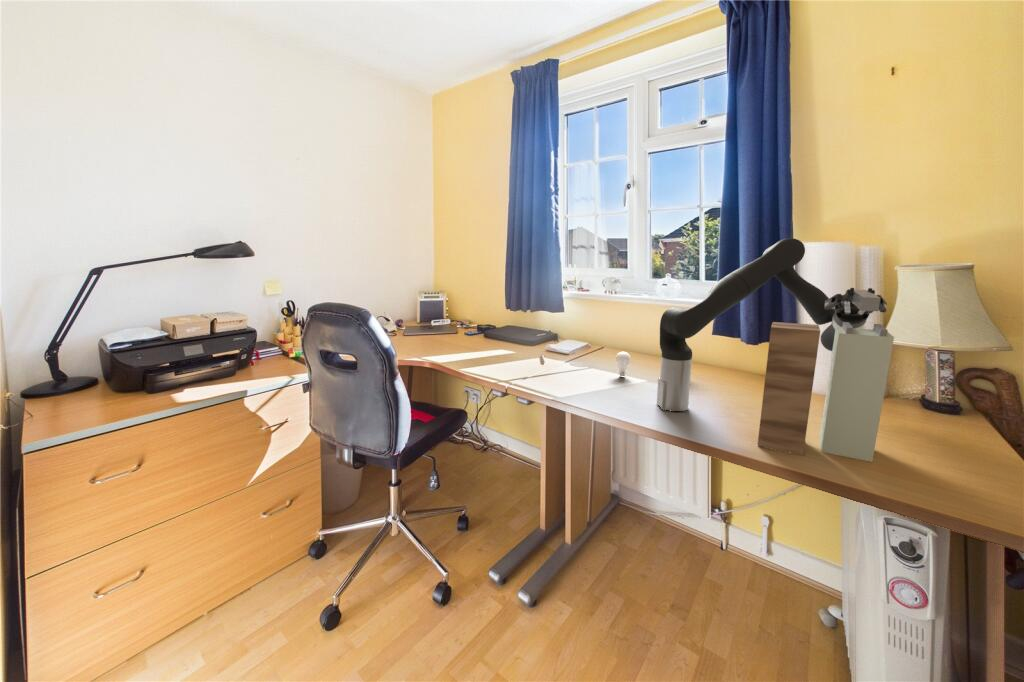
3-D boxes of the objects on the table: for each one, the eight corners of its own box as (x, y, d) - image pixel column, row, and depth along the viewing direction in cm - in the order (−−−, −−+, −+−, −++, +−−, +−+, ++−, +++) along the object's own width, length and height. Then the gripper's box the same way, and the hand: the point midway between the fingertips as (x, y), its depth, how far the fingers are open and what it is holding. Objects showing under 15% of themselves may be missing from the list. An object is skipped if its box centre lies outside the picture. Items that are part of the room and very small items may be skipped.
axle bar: (878, 311, 92) (880, 297, 91) (860, 310, 93) (862, 297, 93) (864, 301, 110) (865, 289, 109) (849, 300, 111) (851, 289, 111)
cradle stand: (872, 461, 102) (895, 330, 95) (821, 451, 107) (840, 327, 101) (866, 446, 110) (887, 324, 103) (819, 437, 115) (836, 321, 109)
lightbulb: (617, 374, 178) (618, 349, 176) (632, 376, 175) (633, 351, 173) (612, 378, 173) (612, 352, 171) (626, 380, 170) (628, 354, 168)
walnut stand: (803, 455, 105) (820, 330, 99) (757, 446, 111) (771, 327, 104) (802, 441, 113) (818, 324, 107) (759, 432, 119) (772, 321, 112)
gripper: (820, 303, 124) (828, 277, 110) (882, 306, 117) (899, 278, 103) (818, 327, 123) (825, 303, 109) (881, 331, 115) (897, 306, 101)
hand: (861, 291), depth 106 cm, fingers closed on axle bar, 3 cm apart
